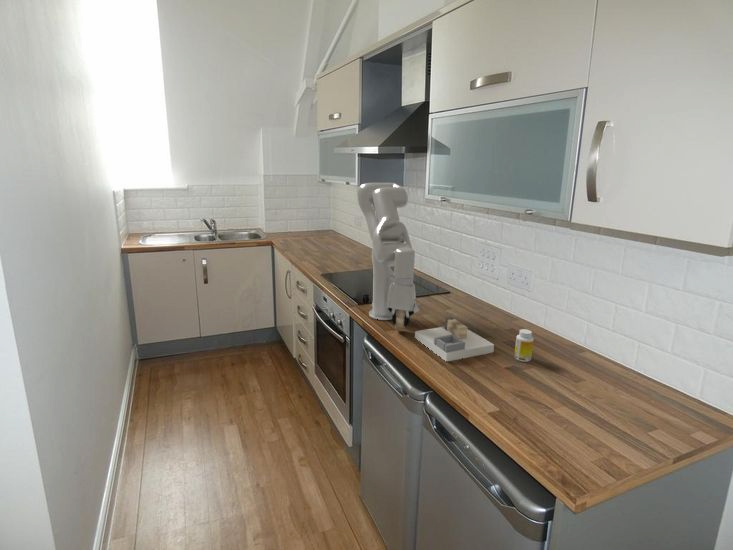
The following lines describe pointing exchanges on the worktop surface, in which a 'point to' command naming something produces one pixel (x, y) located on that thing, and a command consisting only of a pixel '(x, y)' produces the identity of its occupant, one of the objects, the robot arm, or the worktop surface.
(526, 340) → the supplement bottle
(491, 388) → the worktop surface
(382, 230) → the robot arm
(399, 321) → the loose leg
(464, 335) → the beige angular block
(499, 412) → the worktop surface
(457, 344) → the white board with frame
